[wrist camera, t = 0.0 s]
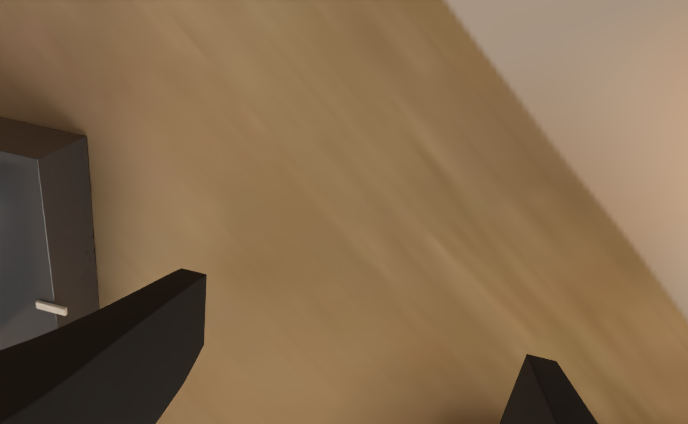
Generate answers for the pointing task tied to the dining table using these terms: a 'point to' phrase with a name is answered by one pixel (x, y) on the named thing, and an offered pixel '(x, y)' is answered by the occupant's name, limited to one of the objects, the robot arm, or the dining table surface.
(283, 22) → the dining table surface
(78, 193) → the tile base
